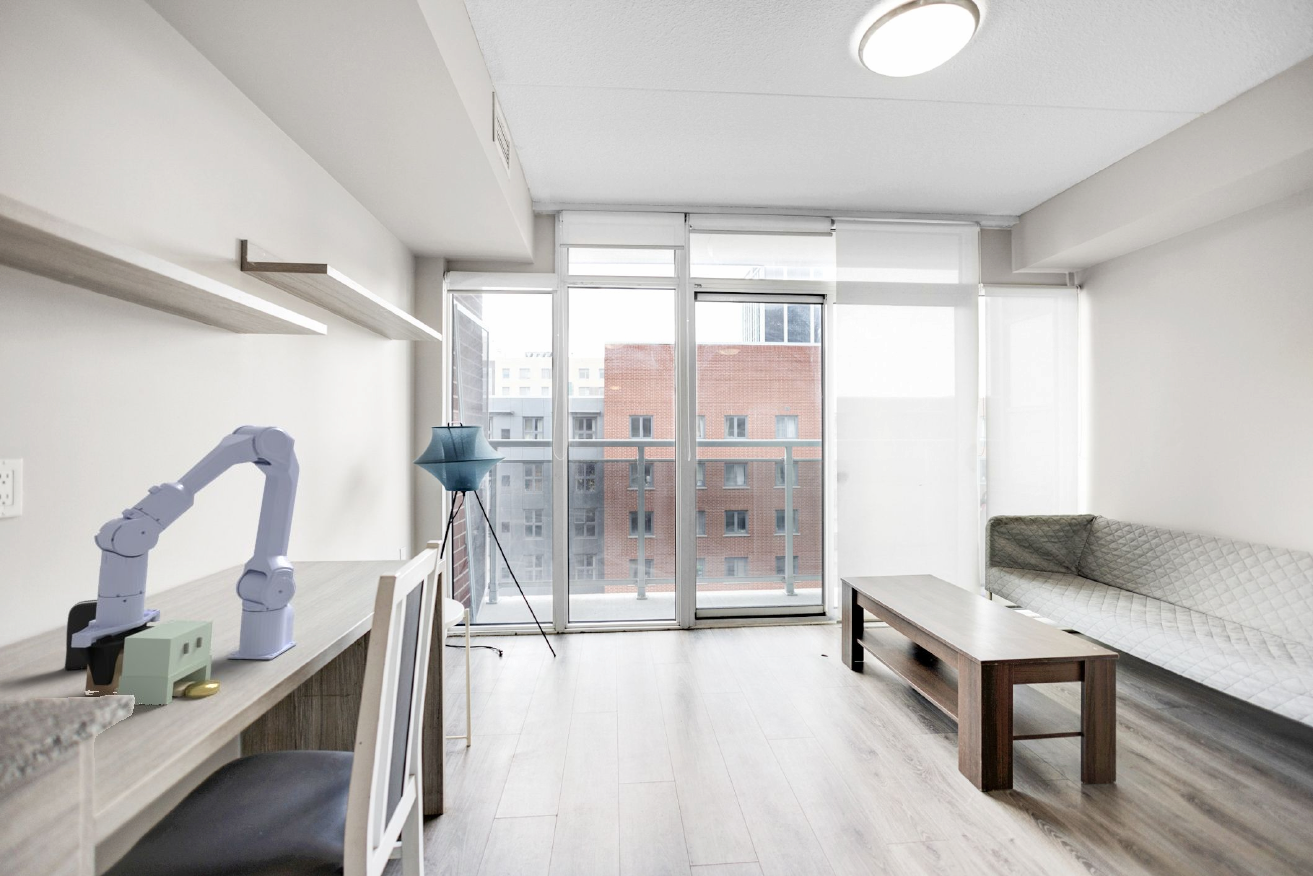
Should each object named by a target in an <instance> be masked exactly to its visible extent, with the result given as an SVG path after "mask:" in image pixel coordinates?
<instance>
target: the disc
mask: <svg viewBox="0 0 1313 876" xmlns="http://www.w3.org/2000/svg"><path fill="white" fill-rule="evenodd" d="M220 686H221V682H220V680H217V679H210V680H202V681H197V682H194V683H191V684H189V685H187V686H186V689H185V694H184V697H185V696H186V697H185V698H187V697H189V698H188V699H201V697H203V698H207V696H208V697H210V695H211V696H213V695H215V694H217V692H218V691H219V692H220V688H221V687H220ZM219 692H218V693H219Z"/></svg>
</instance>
